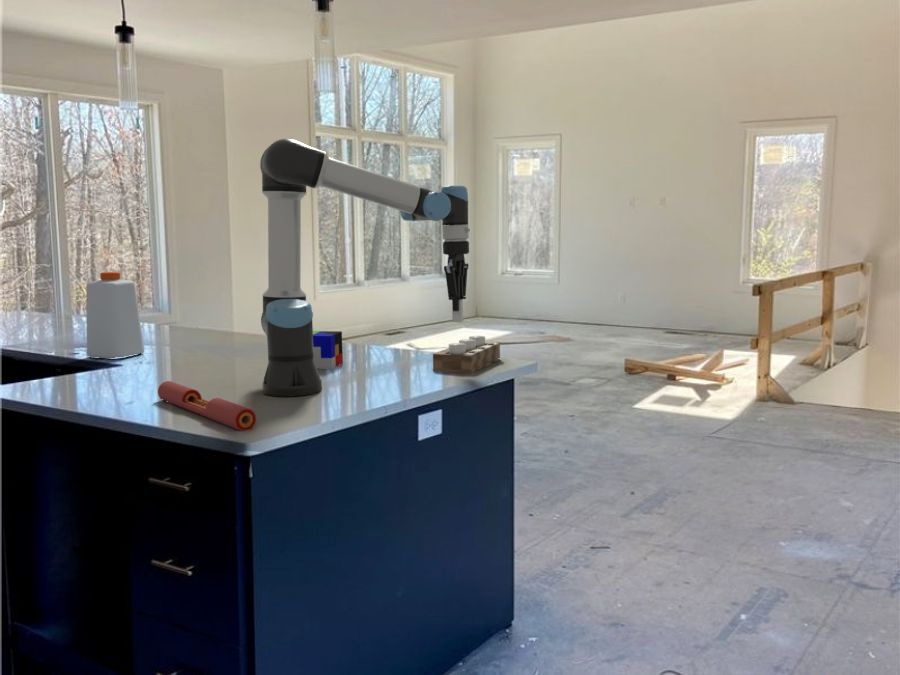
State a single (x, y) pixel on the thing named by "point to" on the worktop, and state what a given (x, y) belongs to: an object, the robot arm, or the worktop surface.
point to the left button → (457, 348)
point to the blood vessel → (208, 406)
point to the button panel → (466, 359)
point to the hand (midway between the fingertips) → (457, 321)
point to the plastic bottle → (112, 317)
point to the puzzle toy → (327, 349)
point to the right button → (478, 340)
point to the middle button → (469, 344)
